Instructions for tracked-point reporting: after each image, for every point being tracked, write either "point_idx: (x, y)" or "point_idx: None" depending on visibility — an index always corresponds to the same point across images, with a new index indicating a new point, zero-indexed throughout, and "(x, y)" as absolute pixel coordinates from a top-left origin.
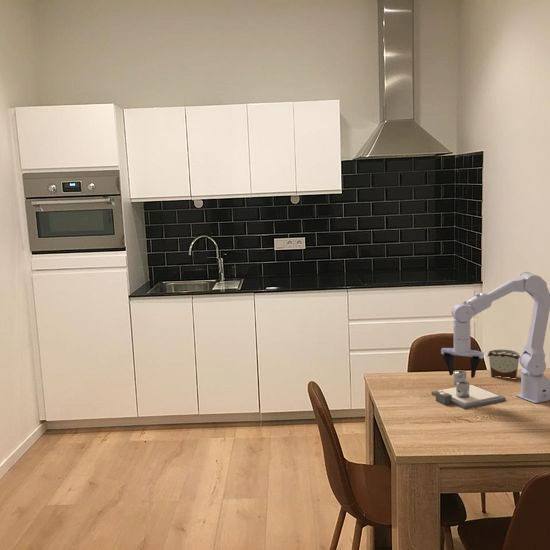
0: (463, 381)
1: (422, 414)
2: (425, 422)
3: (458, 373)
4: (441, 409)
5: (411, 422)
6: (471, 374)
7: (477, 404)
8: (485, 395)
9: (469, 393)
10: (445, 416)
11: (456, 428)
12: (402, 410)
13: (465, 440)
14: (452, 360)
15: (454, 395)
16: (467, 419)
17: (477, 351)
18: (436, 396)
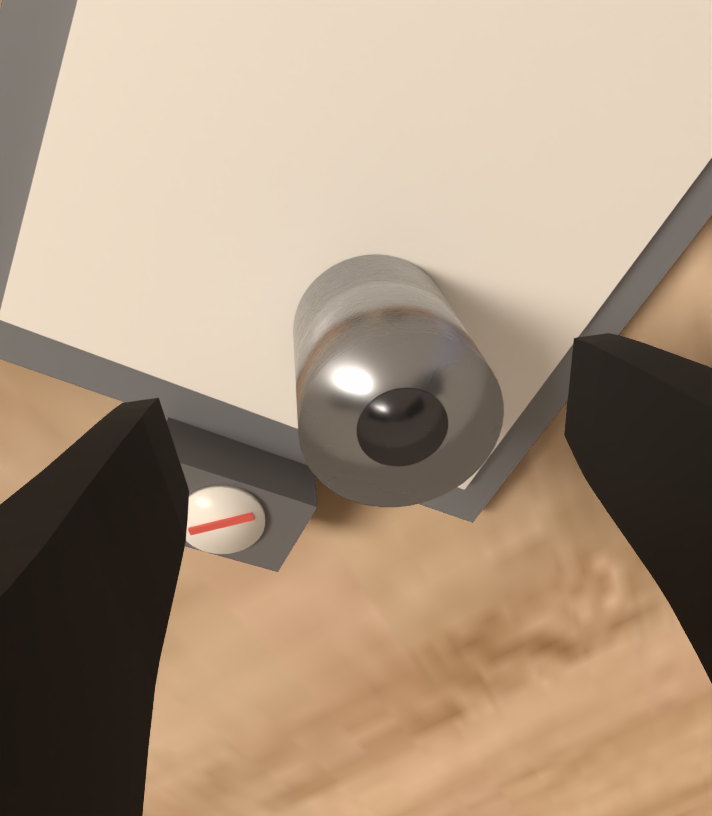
0: (398, 393)
1: (253, 713)
2: (340, 771)
3: None
4: (311, 595)
5: (274, 802)
6: (604, 491)
7: (561, 395)
8: (618, 144)
9: (405, 186)
10: (400, 668)
11: (525, 744)
12: None
13: (602, 800)
14: (59, 673)
15: (280, 365)
16: (548, 635)
17: None
18: None
